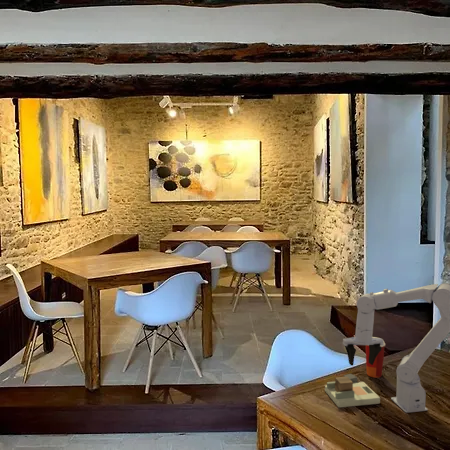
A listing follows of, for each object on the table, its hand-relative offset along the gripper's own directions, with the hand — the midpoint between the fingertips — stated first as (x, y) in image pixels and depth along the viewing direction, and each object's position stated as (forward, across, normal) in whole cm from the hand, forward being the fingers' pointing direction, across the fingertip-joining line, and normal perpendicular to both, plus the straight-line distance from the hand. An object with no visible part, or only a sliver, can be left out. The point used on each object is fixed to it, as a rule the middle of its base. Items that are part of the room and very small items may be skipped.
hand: (360, 363), depth 156 cm
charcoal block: (+11, +1, -5) cm, 12 cm away
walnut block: (+9, +7, +3) cm, 12 cm away
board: (+11, +4, +3) cm, 12 cm away
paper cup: (+11, -12, -12) cm, 20 cm away
